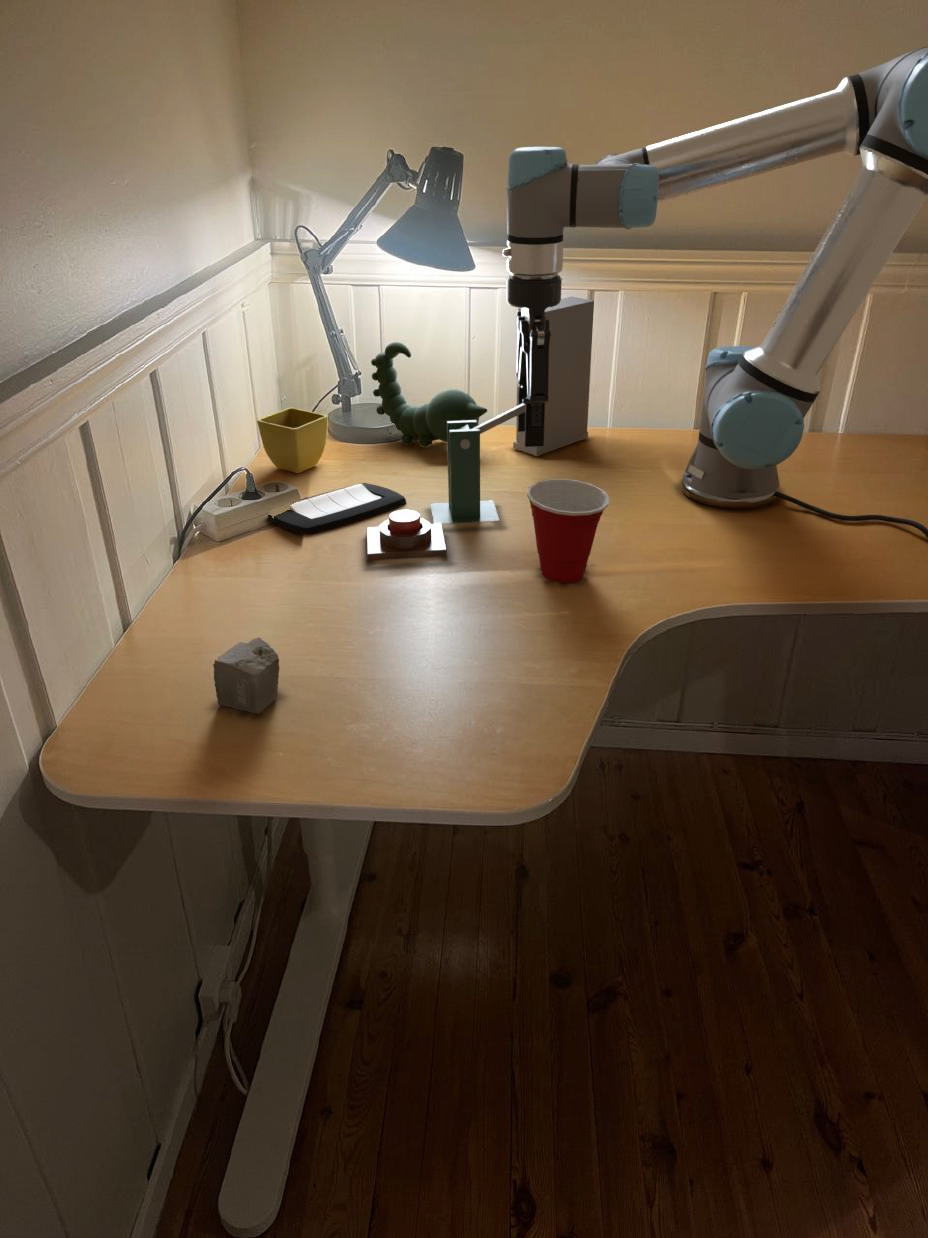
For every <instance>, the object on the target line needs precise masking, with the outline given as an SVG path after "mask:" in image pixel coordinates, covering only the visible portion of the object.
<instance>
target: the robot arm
mask: <svg viewBox="0 0 928 1238" xmlns="http://www.w3.org/2000/svg"><path fill="white" fill-rule="evenodd" d="M841 152H843V153H845V154H847V155H848V156H850V157H855V156H860V158H861V162H862V163H861V166H862V167H861V169H860V171H859V172H858V175H857V176H856V177H855V180H854V181H853V183H852V185H851V187H850V188H849V190H848V191H847V194H846V196H845V197H844V199H843V201H842V202H841V204H840V206H839V208H838V209H837V211H836V213H835V215H834V216H833V218H832V220H831V222H830V223H829V225H828V226H827V228H826V231H825V232H824V234H823V236H822V238H821V239H820V241H819V243H818V245H817V246H816V248H815V249H814V251H813V254H812V255H811V257H810V258H809V261H808V262H807V264H806V266H805V267H804V270H802V273H801V274H800V276H799V278H798V280H797V281H796V283H795V285H794V287H793V288H792V290H791V292H790V293H789V296H788V297H787V299H786V301H785V302H784V304H783V306H782V308H781V310H780V311H779V313H778V315H777V317H775V320H774V321H773V324H772V325H771V327H770V329H769V330H768V332H767V334H766V336H765V338H764V339H763V341H762V342H761V344H760V345H758V346H749V345H733V346H732V345H730V346H719V347H715V348H714V349H712V350H711V351H710V352H709V354H708V357H707V362H706V365H705V366H704V369H705V380H704V388H703V397H702V404H701V411H700V412H701V413H700V421H699V430H698V432H699V433H698V439H697V444H696V446H695V448H694V450H693V452H692V455H691V457H690V458H689V461H688V463H687V465H686V467H685V470H684V472H683V474H682V479H681V485H680V488H681V491H682V493H683V494H684V495H685V496H686V497H688V498H689V499H690V500H692V501H695V502H698V503H700V504H703V505H707V506H710V507H715V508H722V509H729V510H747V509H757V508H762V507H765V506H768V505H770V504H773V503H774V502H775V501H776V500H777V499H778V498H780V499H782V500H784V501H787V502H790V503H792V504H794V505H797V506H798V507H801V508H804V509H806V510H808V511H812V512H814V513H816V514H819V515H821V516H825V517H826V518H831V519H833V520H838V521H847V522H860V521H881V522H882V521H883V522H888V523H894V524H902V525H906V526H910V527H913V528H915V529H917V530H919V531H920V532H922V533H923V535H924V536H926V538H927V539H928V528H927V527H926V526H925V525H923V524H921V523H920V522H918V521H916V520H911V519H909V518H901V517H894V516H888V515H883V514H862V515H861V514H859V515H845V514H840V513H834V512H831V511H828V510H826V509H823V508H821V507H820V508H819V507H817V506H815V505H812V504H809V503H807V502H805V501H802V500H800V499H799V498H798V499H797V498H795V497H793V496H791V495H788V494H785V493H783V492H781V491H780V486H781V483H780V477H779V471H778V466H777V465H779V464H781V463H783V462H784V461H786V460H787V459H789V458H790V457H791V456H792V455H793V454H794V452H795V451H796V450H797V449H798V447H799V445H800V443H801V441H802V438H803V434H804V430H805V420H804V419H805V417H806V416H807V414H808V412H809V411H810V409H811V407H812V406H813V404H814V402H815V401H816V400H817V398H818V396H819V395H820V393H821V391H822V388H821V383H820V379H819V373H820V371H821V369H822V368H823V366H824V365H825V364H826V362H827V360H828V358H829V356H830V355H831V353H832V352H833V350H834V348H835V347H836V346H837V344H838V342H839V340H840V338H841V337H842V335H843V334H844V332H845V331H846V330H847V327H848V326H849V324H850V323H851V321H852V320H853V318H854V316H855V314H856V313H857V311H858V309H859V308H860V306H861V305H862V304H863V302H864V300H865V298H866V297H867V295H868V293H869V292H870V290H871V288H872V287H873V285H874V283H875V282H876V281H877V279H878V277H879V276H880V273H881V272H882V270H883V268H884V267H885V266H886V264H887V262H888V261H889V259H890V257H891V256H892V254H893V253H894V251H895V249H896V248H897V246H898V245H899V243H900V242H901V240H902V238H903V236H904V234H905V233H906V231H907V230H908V228H909V227H910V226H911V223H912V221H913V220H914V219H915V217H916V216H917V214H918V212H919V210H920V209H921V207H922V205H923V204H924V202H925V200H926V199H927V198H928V45H927V46H922V47H919V48H918V47H917V48H915V49H913V50H910V51H909V52H906V53H904V54H901V55H900V56H897V57H895V58H893V59H891V60H888V61H886V62H884V63H882V64H879V65H877V66H874V67H872V68H869V69H867V70H864V71H861V72H859V73H855V74H852V75H849V76H846V77H843V78H842V79H841V81H840V83H839V84H838V86H837V87H836V88H835V89H832V90H829V91H825V92H822V93H818V94H815V95H812V96H808V97H805V98H802V99H798V100H795V101H792V102H789V103H785V104H782V105H779V106H775V107H772V108H768V109H766V110H763V111H758V112H755V113H752V114H749V115H746V116H743V117H739V118H736V119H732V120H729V121H726V122H723V123H719V124H716V125H712V126H709V127H705V128H703V129H699V130H696V131H692V132H690V133H685V134H683V135H680V136H676V137H673V138H670V139H666V140H663V141H660V142H656V143H653V144H649V145H646V146H645V147H641V148H636V149H633V150H629V151H627V152H623V153H613V154H610V155H606V156H604V157H601V158H600V159H599V160H598V161H597V162H595V163H594V164H573V163H568V159H567V151H566V150H565V149H564V148H563V147H559V146H523V147H518V148H515V149H514V150H512V151H511V153H510V154H509V156H508V168H507V184H506V185H507V186H506V234H507V235H506V240H507V241H506V245H507V248H504V249H503V250H502V256H503V257H506V271H507V272H508V273H509V275H507V277H506V288H505V289H506V290H505V291H506V292H505V294H506V295H505V298H506V299H505V300H506V303H507V304H508V305H509V306H511V307H514V308H517V309H518V308H522V310H521V311H518V310H517V312H516V326H517V328H516V329H517V333H516V335H517V337H516V368H515V369H516V370H515V371H516V372H515V378H516V380H517V379H518V385H519V386H521V388H518V405H520V404H522V403H523V404H525V412H524V413H522V414H520V415H518V432H525V443H524V445H525V447H534V446H544V420H545V402H548V399H549V396H548V378H549V343H550V336H551V332H550V330H549V320H546V316H545V309H546V308H548V307H554V306H556V305H558V304H559V303H560V301H561V299H562V280H563V279H562V277H561V275H559V274H560V273H561V272H563V266H564V265H563V262H564V261H563V260H564V243H565V242H564V229H565V228H571V229H572V228H599V229H600V228H601V229H602V228H606V229H624V230H631V229H639V228H640V229H641V228H649V227H651V226H652V225H654V223H655V222H656V218H657V212H658V204H659V203H663V202H665V201H670V200H673V199H677V198H680V197H684V196H687V195H690V194H694V193H698V192H702V191H705V190H709V189H712V188H716V187H720V186H723V185H727V184H730V183H733V182H737V181H741V180H744V179H749V178H752V177H755V176H759V175H762V174H766V173H769V172H773V171H776V170H780V169H784V168H787V167H791V166H795V165H798V164H801V163H805V162H809V161H812V160H816V159H819V158H823V157H827V156H830V155H834V154H838V153H841ZM525 394H527V399H524V395H525Z"/></svg>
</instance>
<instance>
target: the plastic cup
mask: <svg viewBox="0 0 928 1238" xmlns="http://www.w3.org/2000/svg"><path fill="white" fill-rule="evenodd" d="M526 496H527V498H528V500H529V503H530V508H531V516H532V519H533V528H534V534H535V541H536V550H537V554H538V559H539V567H540V571H541V574H542V575H541V576H542V577H543V578H544V579H546V580H548V581H549V582H553V583H557V584H572V583H575V582H578V581H580V580H582V578H584V575H585V573H586V569H587V565H588V561H589V557H590V555H591V551H592V548H593V544H594V540H595V537H596V533H597V529H598V525H599V523H600V520H601V516H603V513H604V511H605V509H606V508H607V507H608V506H609V504H610V496H609V495H608V493H607V492H606V491H605V490H603V489H602V488H600V487H598V486H596V485H594V484H593V483H589V482H585V481H581V480H578V479H569V478H547V479H543V480H539V481H536V482H534V483H532V484H531V485H529V486H528V489H527V492H526Z"/></svg>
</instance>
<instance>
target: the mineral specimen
mask: <svg viewBox="0 0 928 1238" xmlns="http://www.w3.org/2000/svg"><path fill="white" fill-rule="evenodd" d="M212 666H213V680H214V688H215V692H216V699H217V704H218V706H221V707H228V708H231V709H234V710H239V711H242V712H243V711H244V712H249V713H253V714H256V715H259V714H260V713H261V712H263V711H264V710H265V709H266V708H267V707H268V706H270V705H271V704H272V703H273V702H275V701H276V699H277V698H278V695H279V694H278V693H279V691H278V690H279V687H278V686H279V677H280V658H279V655H278V653H277V652H276V651H275V649H274V648H273V647H271V646H270V644H269V643H268V642H267V641H265V640H264V639H263V638H261V637H256V638H253V639H252V640H250V641H248V642H244V641H239V642H238V643H236V644H235V645H233V646H232V647H230V648H229V649H227V651H225V652H224V653H222V654H221V655H219V656H218V657H217V659H215V660H214V662H213V664H212Z"/></svg>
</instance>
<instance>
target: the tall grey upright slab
mask: <svg viewBox="0 0 928 1238" xmlns="http://www.w3.org/2000/svg"><path fill="white" fill-rule="evenodd" d="M521 310H522V308H517V311H521ZM594 310H595V300H593V299H592V300H591V299H587V298H583V297H582V298H581V297H575V296H568V297H564V298H561V301H560V303H559V304H558V305H556V306H554V307H548V308H546V309H545V316H546V320H549V330H550V332H551V336H550V343H549V378H548V396H549V399H548V402H545V420H544V446H534V447H525V445H524V443H525V432H518V416H516V428H515V429H516V430H515V431H516V432H515V433H516V437H515V438H516V439H515V441H513V442H512V443H513V444H512V447H513V448H512V449H515V450H516V451H522V452H523V453H527V454H530V455H533V457H539V456H540V455H544V454H546V453H549V452H552V451H554V450H557V449H560V448H563V447H565V446H569V445H571V444H574V443H577V442H580V441H585V439H589V431H588V423H589V406H590V386H591V385H590V384H591V370H592V369H591V366H592V350H593V349H592V347H593V331H594V330H593V329H594ZM518 388H521V386H519V385H518V379H517V378H516V406H518Z"/></svg>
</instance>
